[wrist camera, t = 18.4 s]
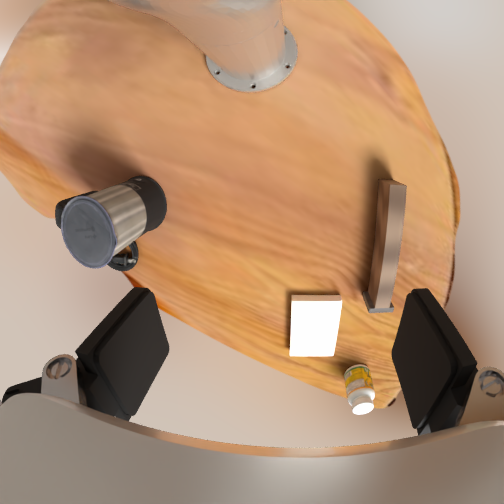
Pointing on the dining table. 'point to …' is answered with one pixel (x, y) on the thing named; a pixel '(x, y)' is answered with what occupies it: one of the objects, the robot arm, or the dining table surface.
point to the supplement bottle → (359, 388)
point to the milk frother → (111, 222)
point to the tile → (314, 324)
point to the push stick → (386, 245)
